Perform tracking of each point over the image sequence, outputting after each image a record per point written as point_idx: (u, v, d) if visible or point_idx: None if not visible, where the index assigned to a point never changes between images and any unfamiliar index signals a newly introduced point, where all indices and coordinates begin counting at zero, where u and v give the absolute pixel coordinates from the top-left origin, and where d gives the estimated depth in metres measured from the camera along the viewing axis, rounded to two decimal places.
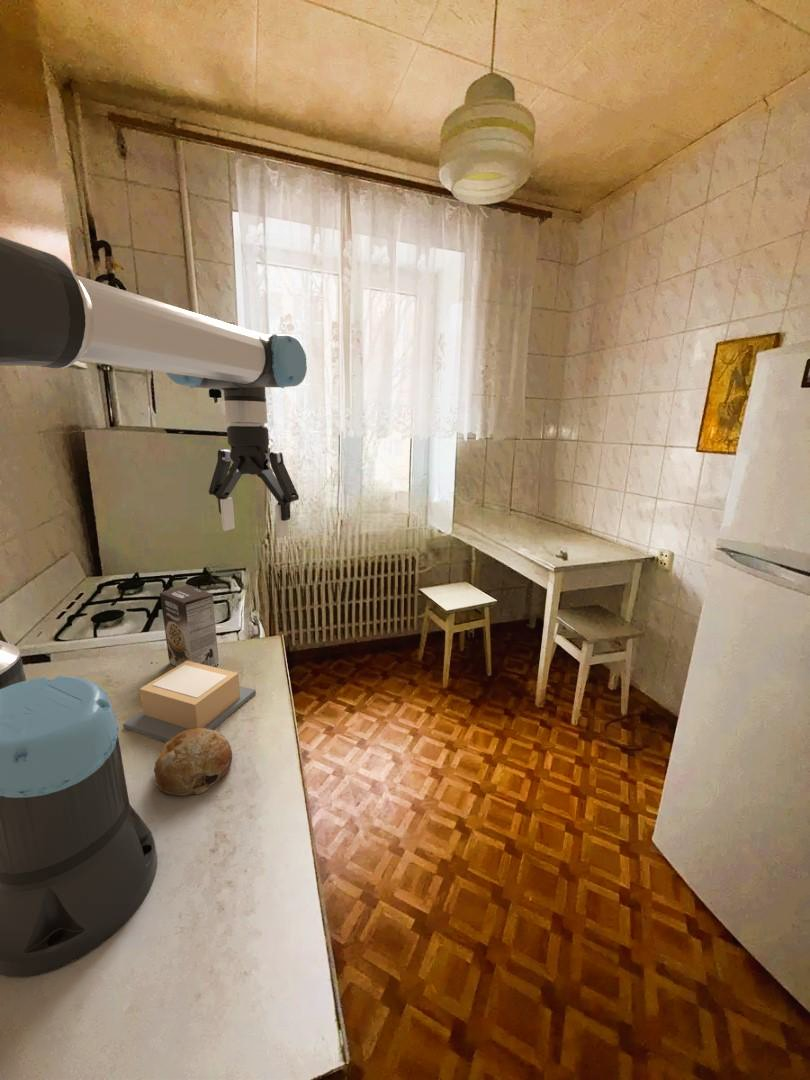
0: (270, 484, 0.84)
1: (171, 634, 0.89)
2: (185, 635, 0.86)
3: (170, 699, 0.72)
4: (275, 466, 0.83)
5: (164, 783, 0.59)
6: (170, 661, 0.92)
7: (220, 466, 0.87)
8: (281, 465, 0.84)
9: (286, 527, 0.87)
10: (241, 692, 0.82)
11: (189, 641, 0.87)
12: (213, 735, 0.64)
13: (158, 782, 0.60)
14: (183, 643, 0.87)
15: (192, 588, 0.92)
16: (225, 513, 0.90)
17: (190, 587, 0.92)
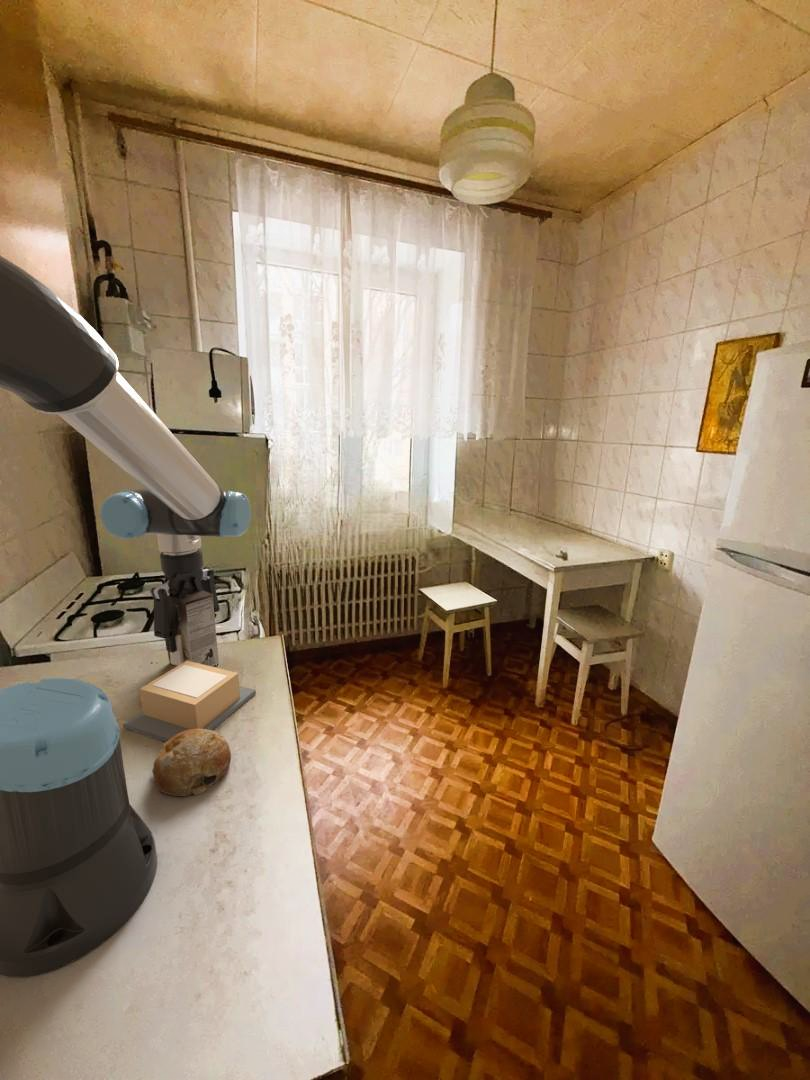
0: None
1: None
2: (185, 635, 0.86)
3: (170, 699, 0.72)
4: None
5: (162, 784, 0.59)
6: (170, 661, 0.92)
7: None
8: (159, 602, 0.83)
9: (178, 658, 0.88)
10: (241, 692, 0.82)
11: (189, 641, 0.87)
12: (212, 735, 0.64)
13: (156, 782, 0.60)
14: (183, 643, 0.87)
15: None
16: None
17: None
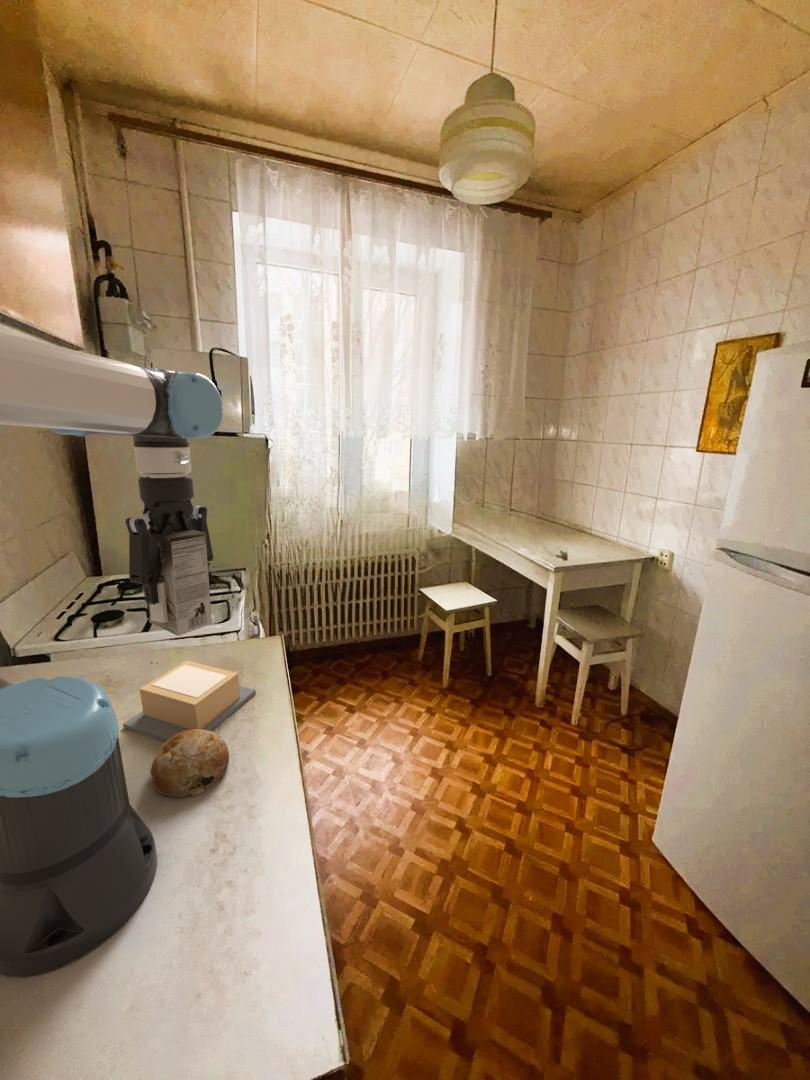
0: None
1: None
2: (169, 582, 0.68)
3: (170, 699, 0.72)
4: None
5: (160, 784, 0.59)
6: (150, 620, 0.74)
7: None
8: (136, 537, 0.65)
9: (160, 613, 0.69)
10: (241, 692, 0.82)
11: (175, 590, 0.68)
12: (210, 736, 0.64)
13: (154, 783, 0.60)
14: (167, 593, 0.69)
15: None
16: None
17: None
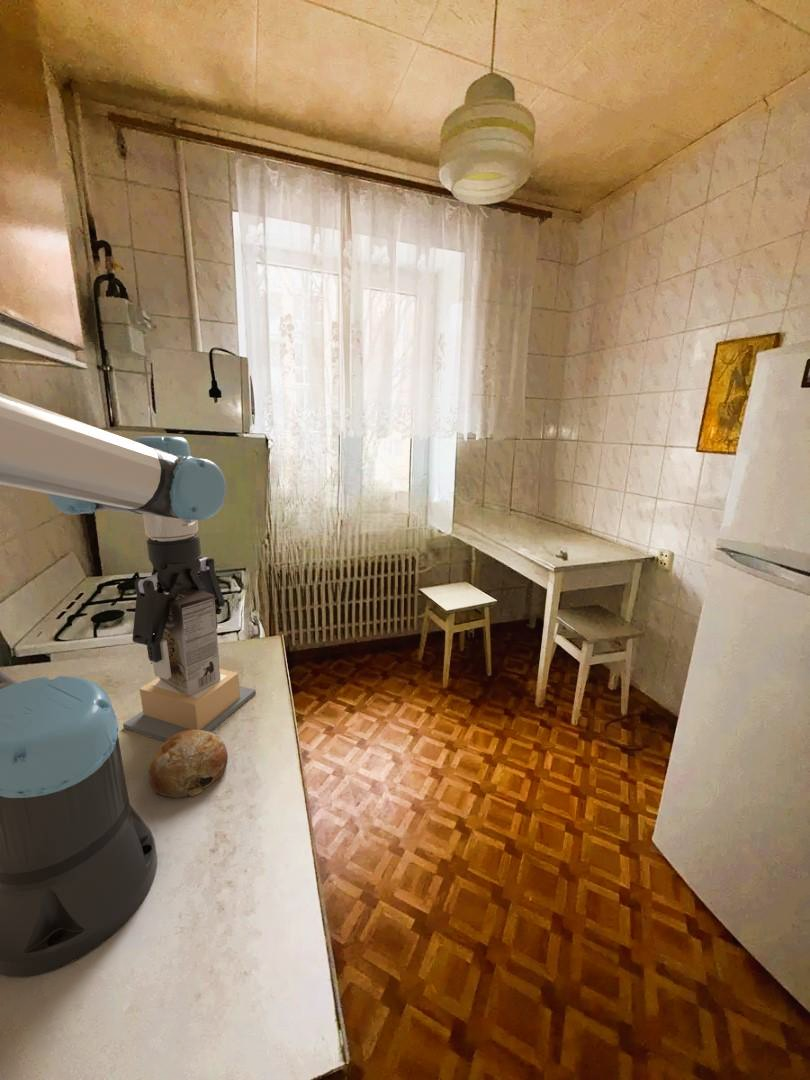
0: None
1: None
2: (180, 645, 0.70)
3: (170, 699, 0.72)
4: None
5: (158, 785, 0.59)
6: None
7: None
8: (143, 598, 0.66)
9: (163, 669, 0.70)
10: (241, 692, 0.82)
11: (185, 653, 0.70)
12: (208, 737, 0.64)
13: (152, 784, 0.60)
14: (178, 655, 0.71)
15: None
16: None
17: None
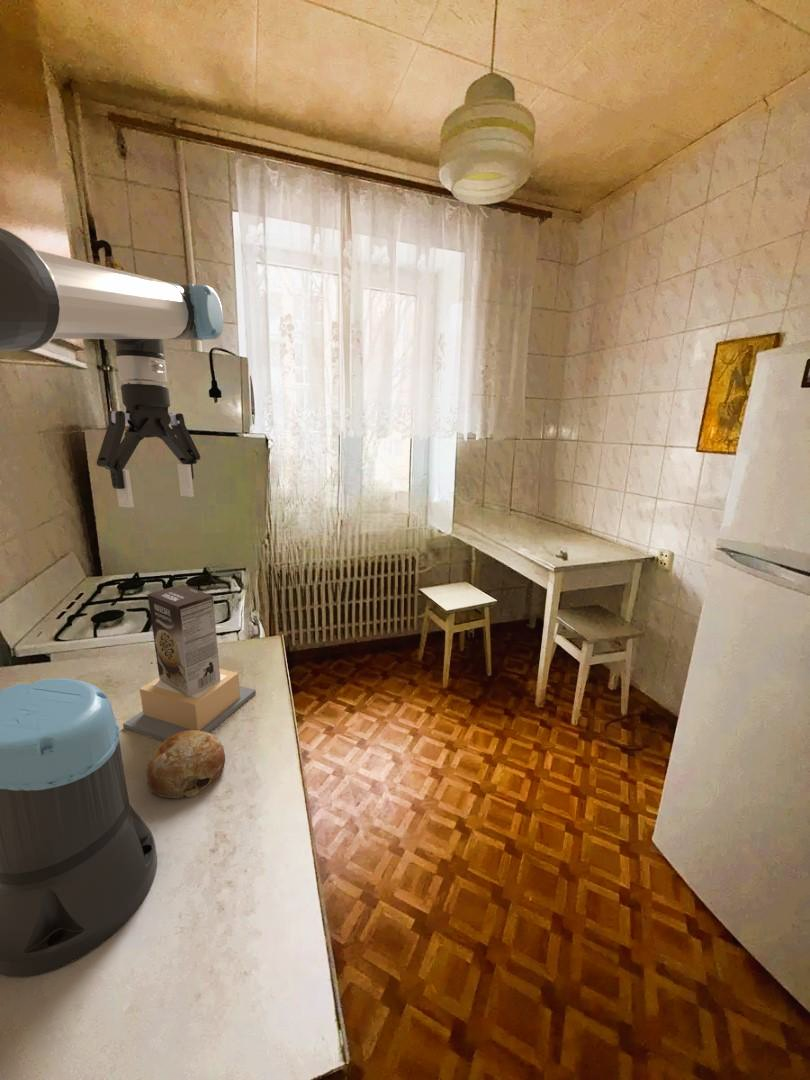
0: None
1: (162, 645, 0.73)
2: (179, 647, 0.70)
3: (170, 699, 0.72)
4: None
5: (155, 785, 0.59)
6: (161, 678, 0.76)
7: None
8: (114, 426, 0.74)
9: (126, 498, 0.77)
10: (241, 692, 0.82)
11: (185, 654, 0.70)
12: (206, 738, 0.63)
13: (149, 784, 0.60)
14: (177, 656, 0.71)
15: (187, 588, 0.75)
16: (180, 478, 0.90)
17: (185, 587, 0.76)
